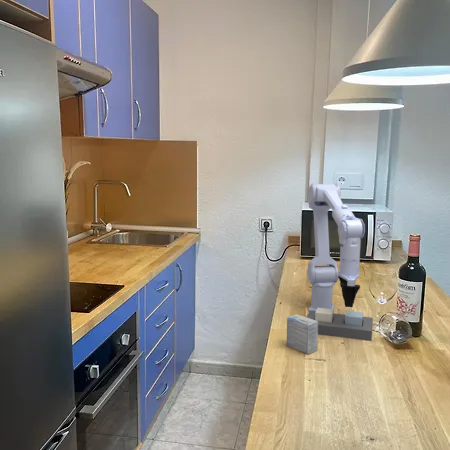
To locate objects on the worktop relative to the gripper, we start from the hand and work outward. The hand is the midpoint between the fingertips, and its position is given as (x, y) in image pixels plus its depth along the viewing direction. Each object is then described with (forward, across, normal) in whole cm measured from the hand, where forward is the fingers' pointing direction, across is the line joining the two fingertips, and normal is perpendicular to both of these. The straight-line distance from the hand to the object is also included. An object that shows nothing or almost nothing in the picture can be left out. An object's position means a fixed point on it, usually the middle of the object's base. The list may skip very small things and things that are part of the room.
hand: (347, 302), depth 142 cm
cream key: (+7, -3, -7) cm, 10 cm away
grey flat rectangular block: (+10, -2, -2) cm, 10 cm away
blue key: (+7, -1, +2) cm, 7 cm away
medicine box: (+10, +14, -13) cm, 22 cm away
